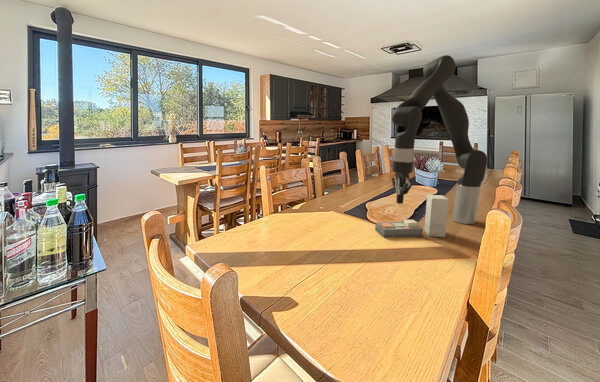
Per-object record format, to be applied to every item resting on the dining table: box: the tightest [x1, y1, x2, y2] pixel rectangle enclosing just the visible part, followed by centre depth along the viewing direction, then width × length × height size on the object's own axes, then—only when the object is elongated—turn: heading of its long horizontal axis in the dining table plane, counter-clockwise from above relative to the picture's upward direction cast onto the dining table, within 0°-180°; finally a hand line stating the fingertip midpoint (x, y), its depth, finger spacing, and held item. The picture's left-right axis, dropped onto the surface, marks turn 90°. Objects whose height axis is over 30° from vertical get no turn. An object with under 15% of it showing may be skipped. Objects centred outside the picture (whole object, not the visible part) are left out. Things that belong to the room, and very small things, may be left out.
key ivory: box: [402, 219, 419, 227], centre depth 117 cm, size 4×4×2 cm
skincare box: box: [423, 194, 450, 238], centre depth 116 cm, size 8×7×16 cm
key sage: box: [392, 223, 406, 228], centre depth 117 cm, size 4×4×2 cm
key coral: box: [380, 223, 394, 228], centre depth 116 cm, size 4×4×2 cm
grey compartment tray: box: [374, 221, 424, 239], centre depth 117 cm, size 16×9×3 cm, turn 97°
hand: (399, 203), depth 115 cm, fingers closed
